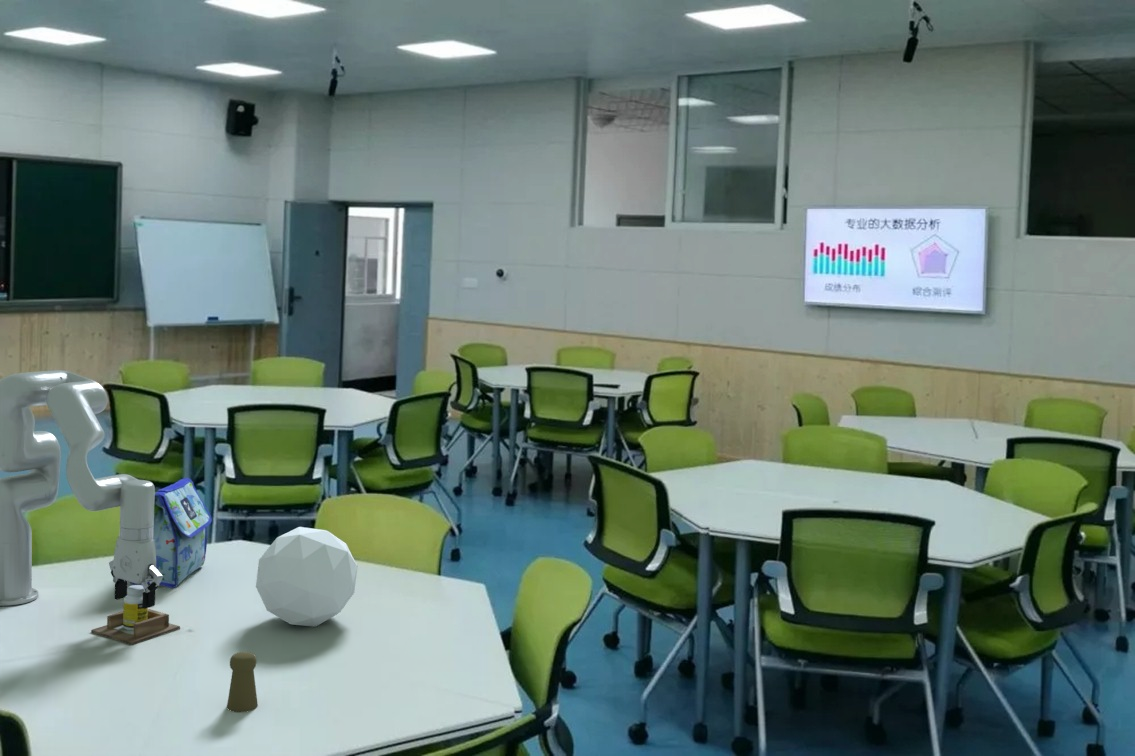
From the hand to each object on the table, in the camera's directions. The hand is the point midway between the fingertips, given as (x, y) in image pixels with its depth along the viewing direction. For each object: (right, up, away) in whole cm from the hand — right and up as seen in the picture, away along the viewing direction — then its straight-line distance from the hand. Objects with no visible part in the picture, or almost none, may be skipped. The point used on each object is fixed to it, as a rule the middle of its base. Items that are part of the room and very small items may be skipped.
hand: (134, 602), depth 261 cm
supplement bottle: (0, -6, 0) cm, 6 cm away
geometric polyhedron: (+38, -8, +13) cm, 41 cm away
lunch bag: (-7, -2, +44) cm, 45 cm away
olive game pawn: (+37, -13, -39) cm, 56 cm away
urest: (0, -7, +1) cm, 7 cm away
